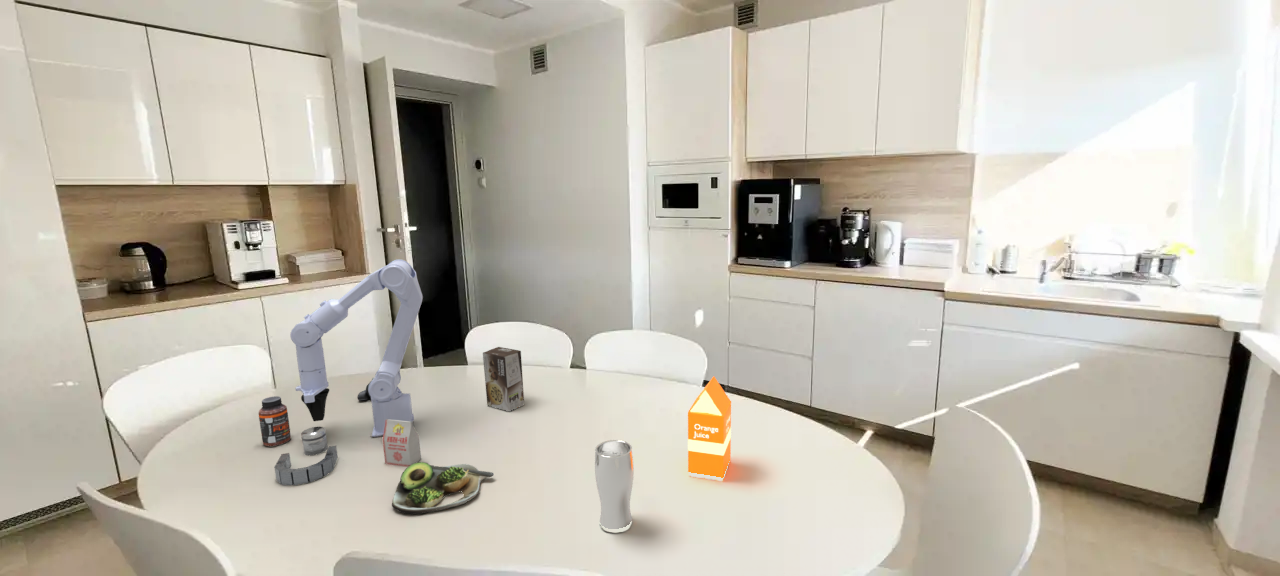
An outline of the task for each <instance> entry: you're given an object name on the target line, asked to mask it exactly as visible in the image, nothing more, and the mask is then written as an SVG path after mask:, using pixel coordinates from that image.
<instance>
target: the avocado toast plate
mask: <svg viewBox="0 0 1280 576" xmlns="http://www.w3.org/2000/svg"><path fill="white" fill-rule="evenodd" d="M493 476H494V472H493V471H492V472H491V471H483V470H479V469H478V468H477V467H476V466H474V465H471V464H467V463H460V464H452V465H446V466H445V465H444V466H440V465H439V466H436V465H433V464H429V463H428V462H424V461H418V462H417V463H414V464H412V465H410V466H406V468H405V469H404V470H403V471H402V473H401V475H400V481H399V482H398V483H397V486H396V489H395V493H394V496H393V498H392V501H391V507H392V508H393V509H395V510H396V511H397V512H399V513H402V514H404V515H405V514H406V515H420V514H426V513H431V512H438V511H441V510H446V509H449V508H450V507H451V508H454V507H458V506H461V505H464V504H465V503H468V502H469V501H471V500H472V499H473V498H475V497H476V496H477V495H478V493H479V490H480V487H481V486H480V485H481V482H482V481H483V480H485V479H488V478H492V477H493ZM459 491H460V492H461V491H462V492H463V493H462V492H461V493H462V495H463V494H464V495H463V496H462V497H461V498H459V499H458V500H456V501H452V502H449V503H447V504H444V505H440V506H437V505H438V504H439V503H440V502H441V501H442V498H443V497H444V496H445V497H447V496H450V495H453V494H454V493H456V494H458V493H460V492H459ZM449 494H450V495H449ZM445 497H444V498H445ZM444 498H443V499H444ZM467 501H468V502H467ZM437 503H438V504H437ZM437 510H438V511H437Z"/></svg>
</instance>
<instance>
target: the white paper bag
mask: <svg viewBox="0 0 1280 576" xmlns="http://www.w3.org/2000/svg"><path fill="white" fill-rule="evenodd" d="M382 446H383V455H384V456H383V458H384V464H386V465H391V466H392V465H393V466H399V467H400V466H402V467H408V466H410V465H412V464H414V463H416V462H420V461H421V460H422V455H421V444H420V434H419V433H418V431H417V430H416V428H415V426H414V422H413V423H412V422H410V421H401V420H391V419H387V420H385V429H384V434H383V435H382ZM420 459H421V460H420Z"/></svg>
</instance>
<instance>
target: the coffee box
mask: <svg viewBox="0 0 1280 576" xmlns="http://www.w3.org/2000/svg"><path fill="white" fill-rule="evenodd" d="M482 361H483V369H484V371H483V372H484V382H485V394H486V405H489V406H492V407H491V408H493V407H496V408H495V409H497V408H499V409H498V410H500V409H503V410H502V411H504V410H506V412H508V411H510V412H512V411H514V410H516V409H518V408H517V407H519V406H521V407H522V405H523V404H524V405H525V392H524V379H523V365H522V362H523V361H522V351H521V350H520V349H519V350H518V349H513V348H508V347H507V348H506V347H502V346H497V347H495V348H494V347H493V348H492V349H488V350H487V351H484V352H482ZM524 405H523V406H524ZM489 406H488V407H489ZM519 408H520V407H519ZM513 409H514V410H513ZM511 410H512V411H511Z"/></svg>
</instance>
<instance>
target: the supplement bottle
mask: <svg viewBox="0 0 1280 576" xmlns="http://www.w3.org/2000/svg"><path fill="white" fill-rule="evenodd" d="M258 420H259V426H260V432H261V441H262V445H264V446H265V447H276V446H281V445H283V444H286V443H287V442H289V441H290V440H291V436H292V435H291V428H290V420H289V413H288V408H287V405H286V404H283V403H282V397H281V396H279V395H277V396H276V395H275V396H269V397H265V398H263V399H262V400H261V408H260V409H259V410H258Z"/></svg>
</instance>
